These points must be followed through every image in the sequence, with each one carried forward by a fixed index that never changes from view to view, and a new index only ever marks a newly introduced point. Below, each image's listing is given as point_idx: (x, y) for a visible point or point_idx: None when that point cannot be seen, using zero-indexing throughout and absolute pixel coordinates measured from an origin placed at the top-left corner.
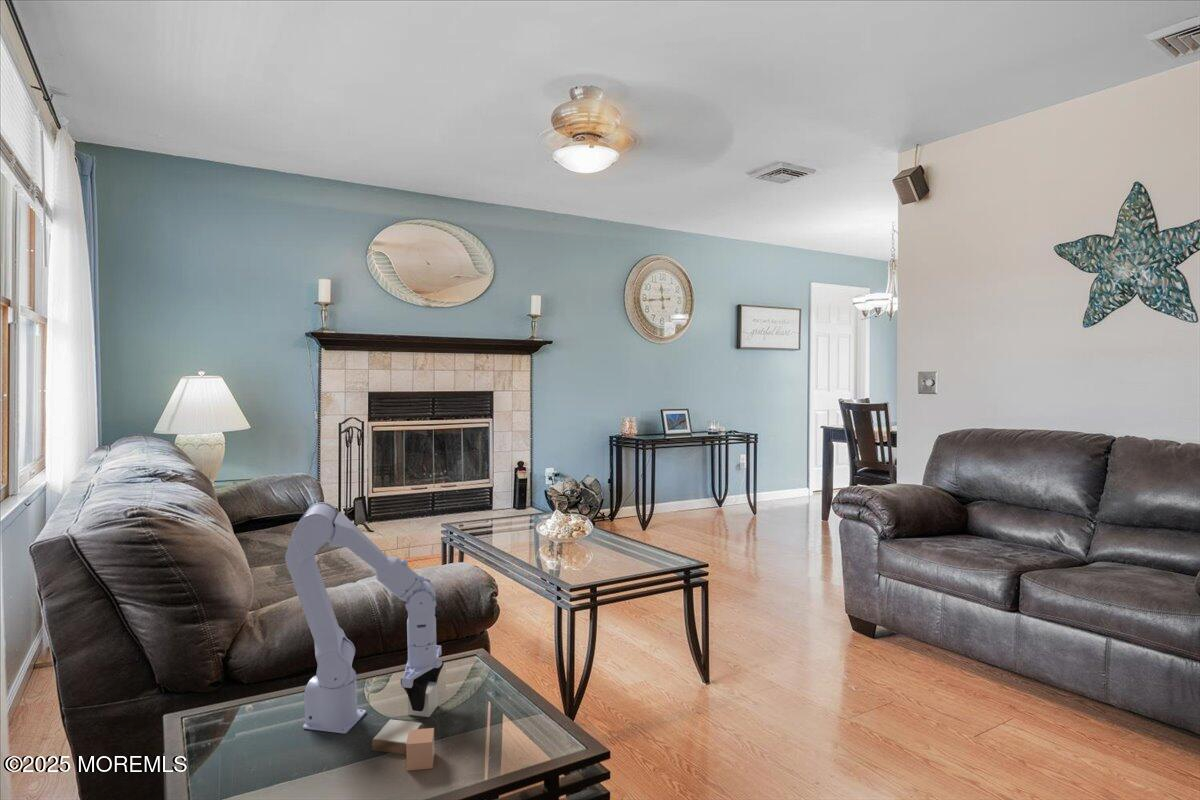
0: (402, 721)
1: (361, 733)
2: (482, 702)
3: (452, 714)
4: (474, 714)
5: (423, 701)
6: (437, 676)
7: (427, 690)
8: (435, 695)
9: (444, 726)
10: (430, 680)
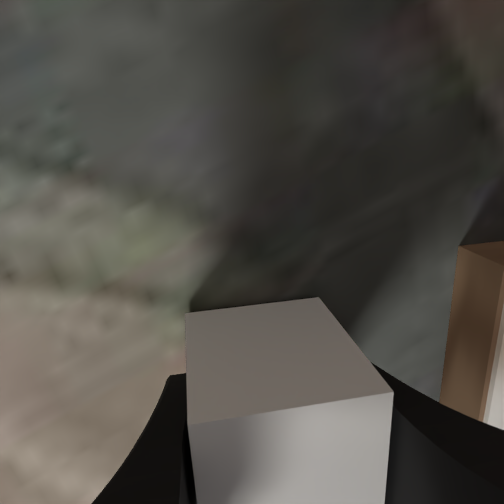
0: (502, 381)
1: None
2: (13, 15)
3: (246, 178)
4: (203, 12)
5: (391, 379)
6: (153, 485)
7: (341, 427)
8: (235, 357)
9: (381, 164)
10: (186, 497)
